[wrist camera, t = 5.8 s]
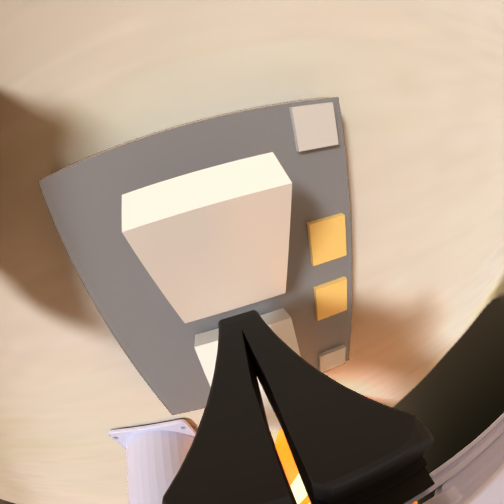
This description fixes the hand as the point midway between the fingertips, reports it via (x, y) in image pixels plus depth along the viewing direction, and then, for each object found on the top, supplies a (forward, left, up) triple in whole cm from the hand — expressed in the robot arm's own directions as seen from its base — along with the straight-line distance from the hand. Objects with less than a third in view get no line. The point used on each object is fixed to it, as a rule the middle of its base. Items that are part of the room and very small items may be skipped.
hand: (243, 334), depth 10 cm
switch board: (-2, 0, -6) cm, 6 cm away
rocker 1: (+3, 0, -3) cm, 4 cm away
